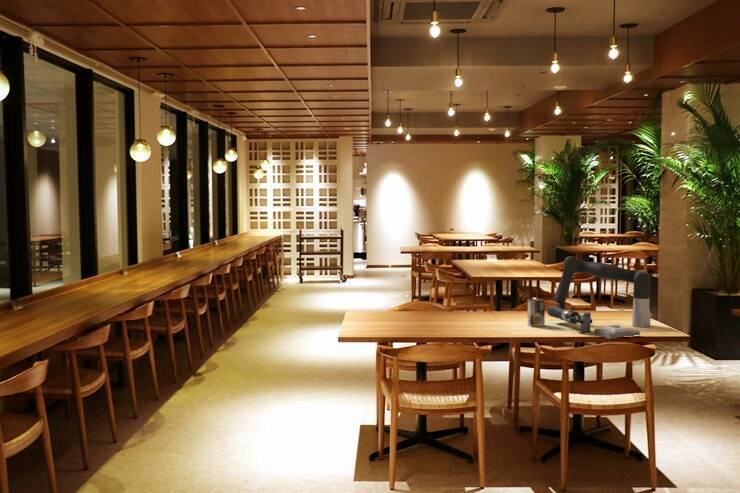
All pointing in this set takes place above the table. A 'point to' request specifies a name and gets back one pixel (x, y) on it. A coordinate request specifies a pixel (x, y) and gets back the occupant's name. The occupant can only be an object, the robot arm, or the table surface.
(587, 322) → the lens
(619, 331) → the grey flat block
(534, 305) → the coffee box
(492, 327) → the table surface
